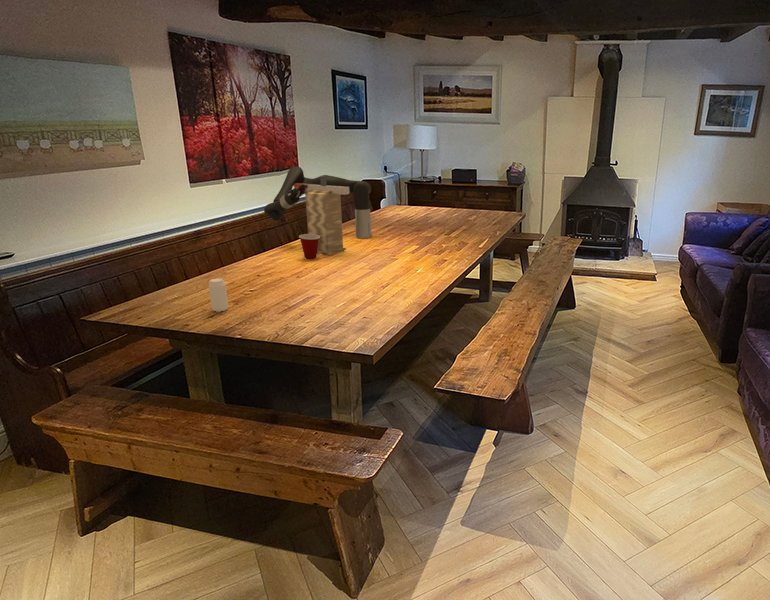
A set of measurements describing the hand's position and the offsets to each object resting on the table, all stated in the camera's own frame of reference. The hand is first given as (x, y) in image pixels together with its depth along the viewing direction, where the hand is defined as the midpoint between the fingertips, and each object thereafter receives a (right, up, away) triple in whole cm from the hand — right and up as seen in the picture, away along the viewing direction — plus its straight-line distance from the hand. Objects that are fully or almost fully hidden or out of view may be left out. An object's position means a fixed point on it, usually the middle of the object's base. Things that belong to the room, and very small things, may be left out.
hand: (307, 185), depth 287 cm
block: (+8, -5, -4) cm, 10 cm away
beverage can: (-21, -66, -83) cm, 108 cm away
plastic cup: (+3, -40, -8) cm, 41 cm away
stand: (+9, -35, +5) cm, 37 cm away
